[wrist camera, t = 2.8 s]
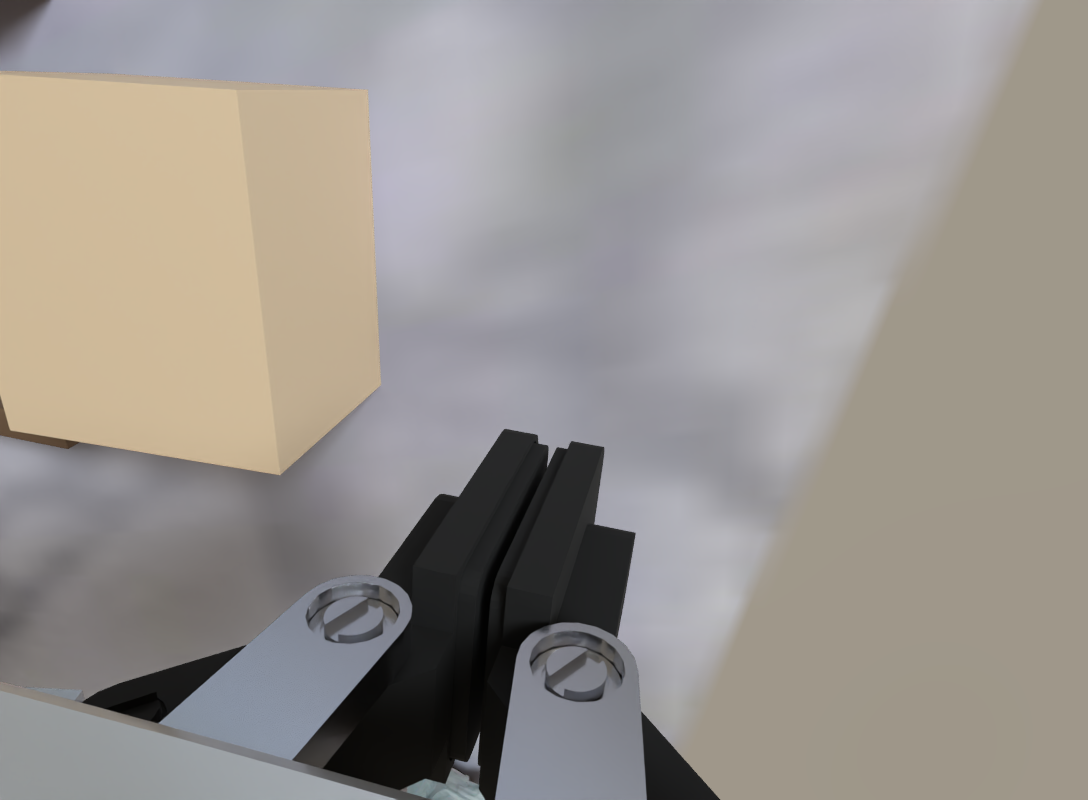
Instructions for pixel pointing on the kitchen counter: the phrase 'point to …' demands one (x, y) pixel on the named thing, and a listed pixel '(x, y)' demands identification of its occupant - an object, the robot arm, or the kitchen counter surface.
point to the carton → (185, 264)
